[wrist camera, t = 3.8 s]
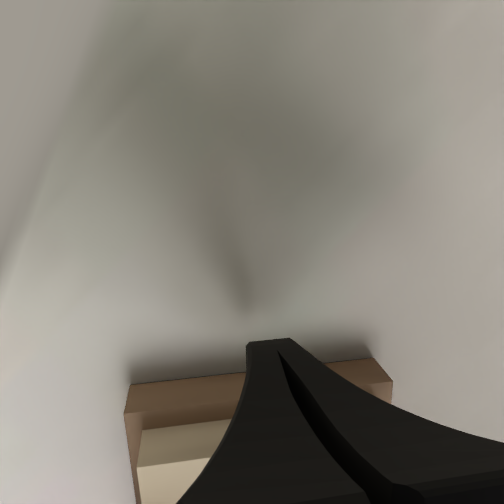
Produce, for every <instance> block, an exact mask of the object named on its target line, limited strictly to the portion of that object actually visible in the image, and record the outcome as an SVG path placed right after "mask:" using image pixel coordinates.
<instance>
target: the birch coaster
mask: <svg viewBox="0 0 504 504" xmlns="http://www.w3.org/2000/svg"><path fill="white" fill-rule="evenodd" d="M231 420H232V419H227V420H219V421H211V422H203V423H195V424H188V425H180V426H172V427H164V428H156V429H148V430H142V436H141V443H140V449H139V456H138V462H137V474H138V482H139V489H140V496H141V503H142V504H176V503H177V502H178V500H179V499H180V498H181V497H182V496H183V494H184V493H185V492H186V491H187V490H188V488H189V487H190V486H191V485H192V483H193V482H194V481H195V480H196V478H197V477H198V476H199V474H200V473H201V472H202V470H203V469H204V467H205V466H206V464H207V463H208V461H209V460H210V458H211V457H212V455H213V453H214V452H215V450H216V449H217V447H218V445H219V444H220V442H221V440H222V438H223V436H224V434H225V432H226V430H227V428H228V426H229V424H230V422H231Z"/></svg>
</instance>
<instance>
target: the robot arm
mask: <svg viewBox="0 0 504 504" xmlns="http://www.w3.org/2000/svg"><path fill="white" fill-rule="evenodd" d="M246 369H247V370H246V376H245V381H244V385H243V388H242V392H241V395H240V399H239V402H238V405H237V407H236V410H235V413H234V415H233V417H232V420H231V422H230V424H229V426H228V428H227V430H226V432H225V434H224V436H223V438H222V440H221V442H220V444H219V445H218V447H217V449H216V450H215V452H214V453H213V455H212V457H211V458H210V460H209V461H208V463H207V464H206V466H205V467H204V469H203V470H202V472H201V473H200V474H199V476H198V477H197V478H196V480H195V481H194V482H193V483H192V485H191V486H190V487H189V488H188V490H187V491H186V492H185V493H184V494H183V496H182V497H181V498H180V499H179V500H178V502H177V503H176V504H504V443H502V442H498V441H494V440H490V439H487V438H483V437H479V436H475V435H471V434H468V433H465V432H462V431H459V430H456V429H452V428H449V427H446V426H443V425H440V424H438V423H435V422H432V421H429V420H427V419H424V418H422V417H419V416H417V415H414V414H412V413H410V412H407V411H405V410H402V409H400V408H398V407H396V406H394V405H391V404H389V403H387V402H385V401H383V400H381V399H380V398H378V397H376V396H374V395H372V394H370V393H368V392H366V391H364V390H363V389H361V388H359V387H358V386H356V385H354V384H353V383H351V382H350V381H348V380H346V379H345V378H343V377H342V376H340V375H339V374H337V373H336V372H334V371H333V370H331V369H330V368H329V367H327V366H326V365H324V364H323V363H322V362H320V361H319V360H318V359H316V358H315V357H314V356H312V355H311V354H310V353H309V352H307V351H306V350H305V349H303V348H302V347H301V346H300V345H298V344H297V343H296V342H295V341H293V340H292V339H290V338H284V339H274V340H264V341H254V342H249V343H248V344H247V345H246Z"/></svg>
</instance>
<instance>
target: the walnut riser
mask: <svg viewBox="0 0 504 504" xmlns="http://www.w3.org/2000/svg"><path fill="white" fill-rule="evenodd" d="M323 364H324V365H326V366H327V367H329V368H330V369H331V370H333V371H334V372H336V373H337V374H339V375H340V376H342V377H343V378H345V379H346V380H348V381H350V382H351V383H353V384H354V385H356V386H358V387H359V388H361V389H363V390H364V391H366V392H368V393H370V394H372V395H374V396H376V397H378V398H380V399H381V400H383V401H385V402H387V403H389V404H391V398H392V387H393V381H392V379H391V378H390V377H389V376H388V375H387V373H386V372H385V371H384V370H383V369H382V367H381V366H380V365H379V364H378V363H377V361H376V360H375V359H374V358H368V359H359V360H350V361H341V362H332V363H323ZM245 376H246V372H243V373H234V374H225V375H216V376H207V377H198V378H189V379H180V380H171V381H162V382H153V383H144V384H135V385H130V388H129V393H128V397H127V401H126V406H125V410H124V420H125V427H126V434H127V441H128V448H129V455H130V462H131V469H132V476H133V483H134V490H135V497H136V504H142V503H141V496H140V489H139V482H138V474H137V462H138V456H139V449H140V443H141V436H142V430H148V429H156V428H164V427H172V426H180V425H188V424H195V423H203V422H211V421H219V420H227V419H232V417H233V415H234V413H235V410H236V407H237V405H238V402H239V399H240V395H241V392H242V388H243V385H244V381H245Z"/></svg>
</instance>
